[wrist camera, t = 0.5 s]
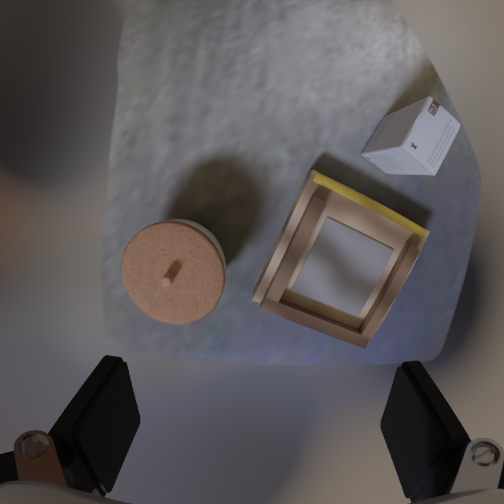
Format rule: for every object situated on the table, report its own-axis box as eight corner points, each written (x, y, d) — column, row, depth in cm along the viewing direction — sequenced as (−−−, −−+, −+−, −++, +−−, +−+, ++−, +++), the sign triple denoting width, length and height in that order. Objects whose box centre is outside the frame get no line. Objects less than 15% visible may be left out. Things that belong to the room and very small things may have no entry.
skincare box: (387, 175, 35) (437, 181, 24) (357, 153, 35) (399, 149, 23) (411, 134, 34) (466, 126, 22) (382, 112, 34) (430, 93, 22)
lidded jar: (232, 212, 37) (223, 227, 28) (231, 299, 40) (222, 336, 31) (144, 210, 38) (110, 224, 28) (148, 293, 40) (120, 326, 31)
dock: (309, 169, 36) (315, 169, 32) (421, 227, 37) (435, 234, 33) (252, 291, 40) (251, 305, 36) (363, 335, 41) (371, 350, 37)
